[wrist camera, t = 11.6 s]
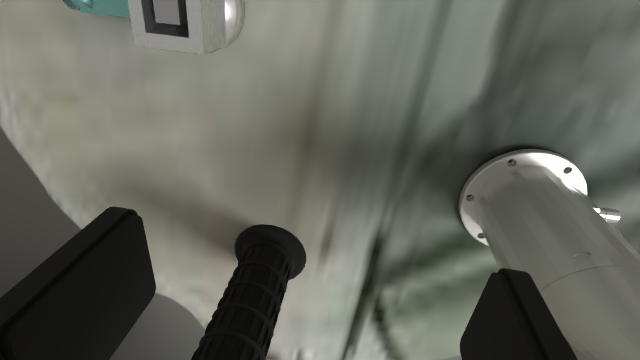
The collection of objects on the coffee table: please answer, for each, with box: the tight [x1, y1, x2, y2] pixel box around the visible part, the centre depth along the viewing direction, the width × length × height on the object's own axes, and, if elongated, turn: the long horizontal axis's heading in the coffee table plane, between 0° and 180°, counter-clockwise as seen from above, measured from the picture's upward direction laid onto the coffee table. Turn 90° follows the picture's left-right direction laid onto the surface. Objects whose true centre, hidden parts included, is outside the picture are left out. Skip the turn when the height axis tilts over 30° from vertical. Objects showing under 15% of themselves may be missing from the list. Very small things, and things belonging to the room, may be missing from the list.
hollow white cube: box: [128, 0, 226, 54], centre depth 29 cm, size 6×6×5 cm
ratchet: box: [63, 0, 245, 54], centre depth 30 cm, size 16×8×7 cm, turn 85°
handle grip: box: [191, 225, 306, 360], centre depth 36 cm, size 10×26×10 cm
